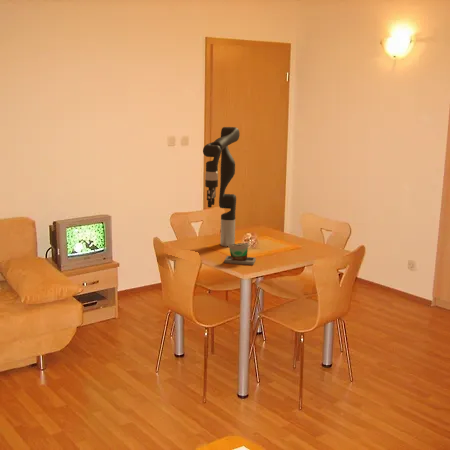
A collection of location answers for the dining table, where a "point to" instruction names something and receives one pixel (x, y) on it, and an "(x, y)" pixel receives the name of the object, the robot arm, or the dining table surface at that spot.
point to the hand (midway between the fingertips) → (211, 205)
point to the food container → (239, 251)
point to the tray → (247, 262)
